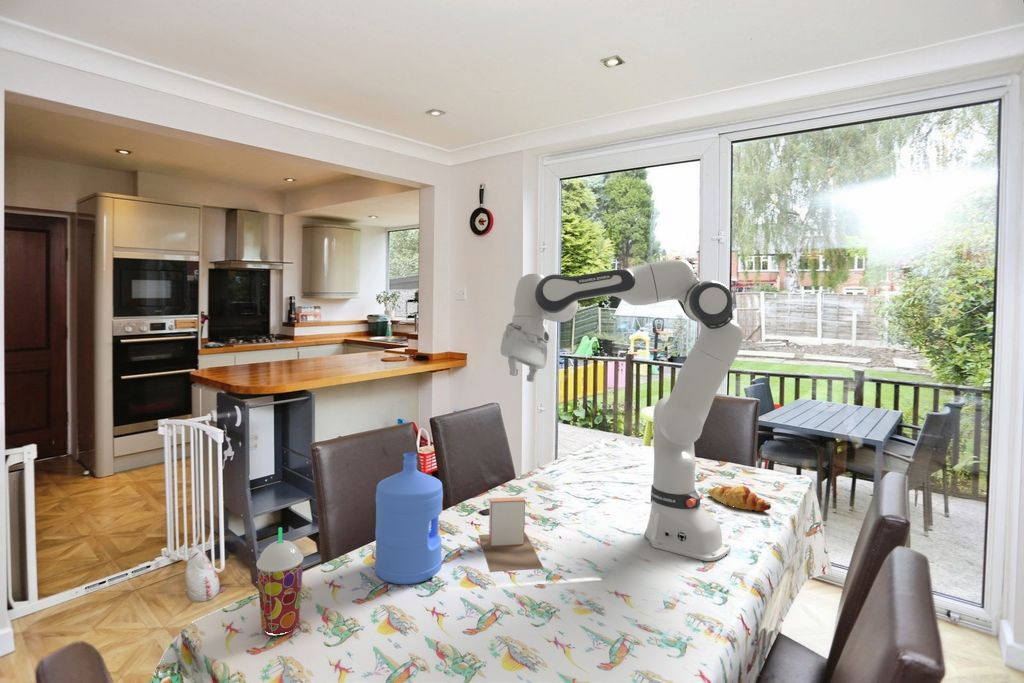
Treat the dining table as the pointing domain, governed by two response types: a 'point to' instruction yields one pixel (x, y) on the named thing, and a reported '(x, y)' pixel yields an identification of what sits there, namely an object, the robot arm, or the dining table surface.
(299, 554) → the smoothie
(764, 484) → the dining table surface
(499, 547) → the walnut board
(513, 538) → the terracotta tile
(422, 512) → the water jug
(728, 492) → the croissant
